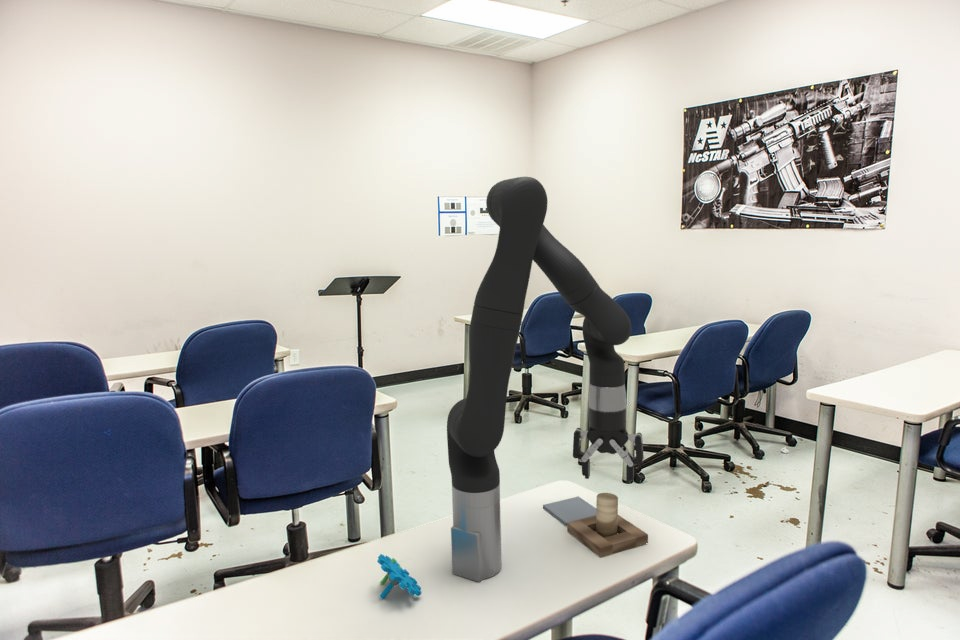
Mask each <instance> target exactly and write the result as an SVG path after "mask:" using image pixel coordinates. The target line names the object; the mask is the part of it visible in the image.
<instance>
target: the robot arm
mask: <svg viewBox="0 0 960 640" xmlns="http://www.w3.org/2000/svg"><path fill="white" fill-rule="evenodd" d="M485 203H486V204H485V205H486V211H487V213H488V215H489V217H490V219H491V220H492V221H493V222H494V223H495V224H496V225H497V226H498V227H499V231H498V236H497V237H498V239H497V243H496V248H495V249H496V250H495V252H494V256H493V257H492V260H491V262H490V265H489V266H488V268H487V270H486V272H485V274H484V276H483V278H482V280H481V282H480V285H479V286H478V289H477V291H476V294H475V298H474V302H473V307H472V312H471V318H470V324H469V325H470V326H469V335H468V344H469V347H468V349H469V362H470V366H469V367H470V377H469V378H470V379H469V385H468V390H467V394H466V397H465V398H462V399H461V400H458V401H457V402H456V403H455V404H454V405H453V406H452V407H451V409H450V410H449V412H448V416H447V418H446V419H447V421H446V437H447V438H446V443H447V456H448V459H447V460H448V465H449V466H448V467H449V470H450V476H451V493H452V494H451V498H452V499H451V500H452V526H451V527H450V535H451V536H450V540H451V542H450V543H451V544H450V545H451V565H452V566H451V568H452V569H451V570H452V571H451V573H452V574H453V575H456V576H460V577H463V578H466V579H468V580H470V581H471V580H472V581H475V582H478V583H479V582H481V581H483V580H484V579H488V578H491V577H493V576H496V575H497V574H498V573H499V572H500V571H501V570H502V567H503V566H502V533H501V532H502V528H501V527H502V526H501V487H500V486H501V477H500V475H501V474H500V469H499V464H498V461H497V458H496V454H495V450H496V449H497V447H499V445H500V443H501V441H502V438H503V437H504V430H505V423H506V409H507V399H508V390H509V384H510V377H511V372H512V368H513V364H514V359H515V355H516V354H515V353H516V349H517V346H518V345H517V343H518V340H519V335H520V332H521V326H522V320H523V316H524V312H525V311H524V310H525V303H526V297H527V292H528V287H529V283H530V282H529V281H530V277H531V276H530V275H531V271H532V266H533V262H534V263H535V264H536V265H537V267H538V268H539V269H540V270H541V271H542V273H543V274H544V275H545V276H546V277H547V278H548V280H549V281H550V283H552V284H551V285H553V286H554V288H555V289H556V290H557V292H558V293H559V294H560V296H561V297H562V299H563V300H564V301H565V303H566V304H567V305H568V306H569V307H570V309H572V310H573V311H574V312H575V313H578V314H579V315H581V316H583V317H584V318H583V323H582V338H583V342H584V345H585V346H584V347H585V351H586V355H587V358H588V361H589V362H588V363H589V388H588V389H589V390H588V430H584V429H582V428H580V427H577V428H576V429H575V430H574V433H573V439H572V440H573V441H572V444H573V445H572V457H573V458H574V459H578V460H580V462H581V474H582V476H584V479H586V480H589V479H590V476H591V459H590V457H592V456H593V454H594V453H595V452H596V451H597V452H598V453H600V454H606V453H607V454H610V455H615V454H618V455H619V457H620V458H621V459H622V460H623V461H624V463H626V466H625V469H626V471H625V472H626V476H625V477H626V479H625V481H626V484H631V482H632V481H634V479H635V466H636V465H639V466H641V465H642V464H643V463H644V462H643V461H644V458H645V457H644V445H643V434H642V433H641V432H637V433H628V431H627V405H628V403H627V402H628V401H627V390H626V384H625V382H626V376H625V375H626V373H625V371H626V369H625V367H626V365H625V361H624V359H623V357H622V356H621V355H619V354H618V353H617V351H616V350H615V349H616V348H615V346H620V345H622V344H625V343H626V342H627V341H628V340H629V339H630V336H631V334H632V322H631V320H630V317H629V315H628V314H627V312H626V311H625V310H624V308H623V307H622V306H620V305H619V303H618V302H616V300H614V299H613V298H612V297H611V296H610V295H609V294H608V293H606V291H604V290H603V289H602V288H601V287H600V285H599V284H598V282H597V281H596V279H595V278H594V276H593V275H592V273H590V271H589V269H588V268H587V267H586V266H585V264H584V263H583V262H582V261H581V260H580V259H579V258H578V257H577V256H576V255H575V254H574V253H573V252H571V251H570V250H569V249H568V248H567V247H566V246H565V245H563V244H562V243H561V242H560V241H559V240H558V239H557V238H556V237H555V236H554V235H553V234H552V233H551V231H549V230H548V228H547V227H546V225H544V222H545V219H546V215H547V212H548V203H549V202H548V194H547V192H546V189H545V187H544V186H543V184H542V183H541V182H540V181H539V180H538V179H536V178H534V177H531V176H519V177H513V178H508V179H503V180H501V181H498V182H497V183H495V184H494V185H492V186H491V188H490V190H488V193H487V196H486V201H485ZM585 437H586V438H587V440H588V441H589V442H590V445H589V447H588V448H587V449H586V450H585V451H582V441H584V439H585ZM628 441H630V443H631V445H633V446H635V456H633V455H632V453H631V452H630V450H629V448H628V447H627V446H626V443H627V442H628Z"/></svg>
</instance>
